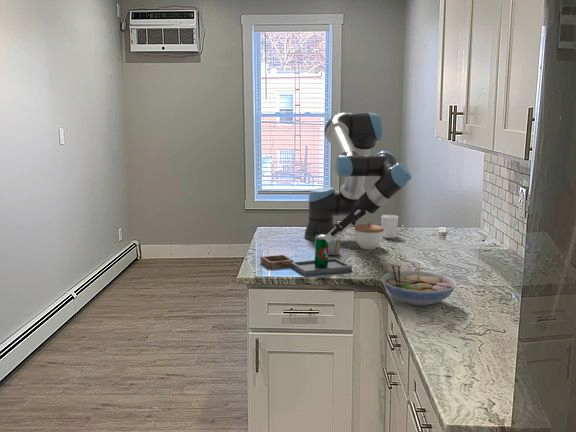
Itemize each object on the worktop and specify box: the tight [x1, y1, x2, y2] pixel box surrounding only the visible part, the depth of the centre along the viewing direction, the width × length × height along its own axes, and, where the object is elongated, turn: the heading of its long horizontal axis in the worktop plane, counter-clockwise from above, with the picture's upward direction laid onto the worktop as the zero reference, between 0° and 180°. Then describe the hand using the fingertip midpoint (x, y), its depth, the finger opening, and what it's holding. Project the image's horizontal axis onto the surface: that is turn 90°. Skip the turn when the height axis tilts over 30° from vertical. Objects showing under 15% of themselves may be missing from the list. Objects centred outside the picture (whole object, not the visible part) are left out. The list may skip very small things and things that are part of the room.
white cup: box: [380, 214, 399, 239], centre depth 279 cm, size 8×8×10 cm
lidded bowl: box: [354, 222, 384, 250], centre depth 256 cm, size 13×13×11 cm
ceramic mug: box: [328, 237, 341, 256], centre depth 244 cm, size 11×8×8 cm
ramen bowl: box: [381, 265, 458, 307], centre depth 182 cm, size 25×23×8 cm
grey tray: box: [290, 257, 353, 277], centre depth 220 cm, size 19×13×2 cm
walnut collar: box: [260, 254, 294, 270], centre depth 225 cm, size 10×10×2 cm
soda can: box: [314, 234, 329, 268], centre depth 219 cm, size 5×5×12 cm
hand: (331, 236), depth 215 cm, fingers open, 13 cm apart
